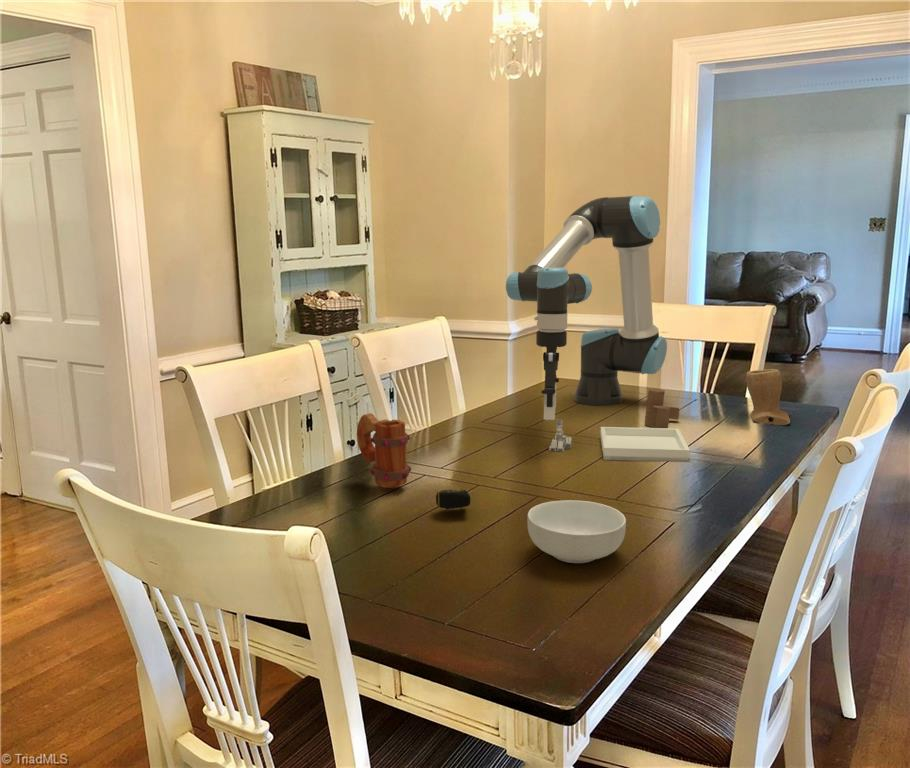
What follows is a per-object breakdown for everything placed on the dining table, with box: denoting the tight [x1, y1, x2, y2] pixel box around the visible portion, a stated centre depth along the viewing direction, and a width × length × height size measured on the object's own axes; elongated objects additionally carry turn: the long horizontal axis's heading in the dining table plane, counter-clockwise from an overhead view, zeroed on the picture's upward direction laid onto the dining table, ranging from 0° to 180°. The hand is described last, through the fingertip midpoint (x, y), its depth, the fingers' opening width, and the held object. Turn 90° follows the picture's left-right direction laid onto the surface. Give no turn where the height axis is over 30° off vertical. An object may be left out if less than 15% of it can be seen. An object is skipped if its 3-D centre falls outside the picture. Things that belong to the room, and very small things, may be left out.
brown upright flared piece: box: [745, 368, 791, 426], centre depth 221 cm, size 15×12×15 cm
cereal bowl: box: [526, 499, 627, 564], centre depth 135 cm, size 17×17×7 cm
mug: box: [356, 412, 412, 489], centre depth 173 cm, size 15×8×15 cm, turn 47°
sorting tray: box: [600, 426, 691, 462], centre depth 196 cm, size 20×20×3 cm
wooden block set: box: [644, 387, 680, 428], centre depth 215 cm, size 18×9×10 cm, turn 160°
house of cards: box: [548, 419, 573, 452], centre depth 197 cm, size 9×9×8 cm
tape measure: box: [435, 489, 472, 511], centre depth 156 cm, size 7×7×4 cm
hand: (550, 413), depth 199 cm, fingers open, 13 cm apart
